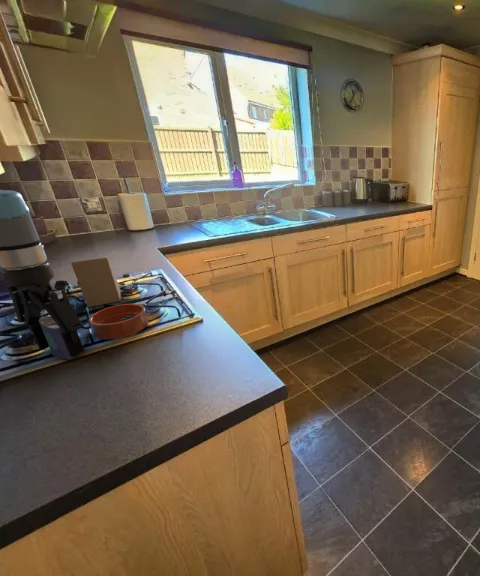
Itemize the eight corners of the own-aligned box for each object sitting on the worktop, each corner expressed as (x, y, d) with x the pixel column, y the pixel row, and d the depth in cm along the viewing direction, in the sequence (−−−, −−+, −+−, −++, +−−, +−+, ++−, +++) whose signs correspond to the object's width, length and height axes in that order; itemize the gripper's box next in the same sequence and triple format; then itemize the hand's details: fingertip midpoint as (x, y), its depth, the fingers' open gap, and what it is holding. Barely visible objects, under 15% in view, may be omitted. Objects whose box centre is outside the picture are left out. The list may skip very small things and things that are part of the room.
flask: (80, 356, 80) (64, 318, 76) (65, 362, 78) (47, 323, 73) (61, 345, 84) (45, 308, 80) (46, 351, 82) (29, 313, 77)
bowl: (83, 337, 88) (76, 320, 86) (125, 315, 99) (120, 301, 97) (119, 344, 85) (114, 328, 83) (159, 322, 96) (155, 307, 94)
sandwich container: (120, 284, 118) (107, 244, 112) (121, 300, 107) (107, 257, 101) (89, 290, 113) (74, 248, 107) (87, 307, 102) (70, 262, 96)
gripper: (82, 264, 73) (112, 349, 82) (9, 253, 77) (46, 335, 86) (43, 276, 66) (80, 367, 75) (-35, 264, 70) (10, 351, 79)
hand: (62, 350), depth 81 cm, fingers closed on flask, 9 cm apart
